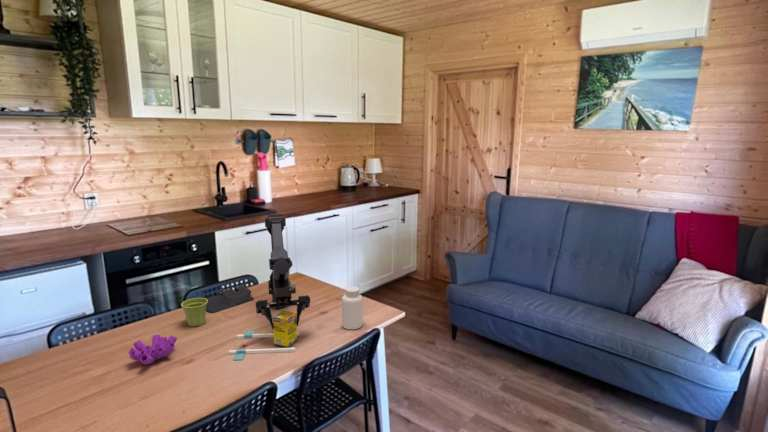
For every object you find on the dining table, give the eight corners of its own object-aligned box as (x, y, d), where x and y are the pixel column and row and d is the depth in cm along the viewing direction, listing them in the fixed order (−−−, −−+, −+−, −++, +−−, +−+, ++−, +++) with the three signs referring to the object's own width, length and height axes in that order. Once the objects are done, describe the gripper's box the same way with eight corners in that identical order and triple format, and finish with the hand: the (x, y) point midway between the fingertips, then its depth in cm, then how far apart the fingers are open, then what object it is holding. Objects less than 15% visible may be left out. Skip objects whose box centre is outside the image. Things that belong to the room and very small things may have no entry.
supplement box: (288, 349, 146) (287, 319, 144) (273, 345, 148) (272, 316, 146) (297, 341, 152) (296, 312, 149) (283, 338, 154) (282, 310, 151)
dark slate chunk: (193, 305, 182) (192, 295, 181) (239, 291, 198) (238, 281, 197) (211, 315, 172) (210, 305, 171) (258, 299, 189) (257, 289, 188)
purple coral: (129, 375, 136) (120, 347, 138) (176, 356, 147) (167, 331, 149) (138, 366, 129) (128, 337, 131) (187, 347, 140) (177, 320, 142)
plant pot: (177, 326, 162) (175, 305, 160) (196, 316, 171) (194, 296, 169) (196, 330, 159) (194, 309, 157) (214, 320, 167) (213, 299, 166)
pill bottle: (366, 323, 166) (366, 287, 163) (356, 331, 159) (356, 294, 156) (348, 319, 169) (348, 283, 166) (338, 327, 162) (337, 290, 159)
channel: (225, 360, 138) (225, 357, 138) (240, 332, 158) (240, 329, 158) (293, 357, 140) (293, 354, 140) (299, 329, 160) (299, 327, 160)
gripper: (254, 279, 146) (256, 322, 138) (308, 274, 151) (314, 315, 143) (255, 292, 155) (257, 333, 147) (306, 287, 160) (311, 326, 152)
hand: (285, 327), depth 147 cm, fingers closed on supplement box, 8 cm apart
